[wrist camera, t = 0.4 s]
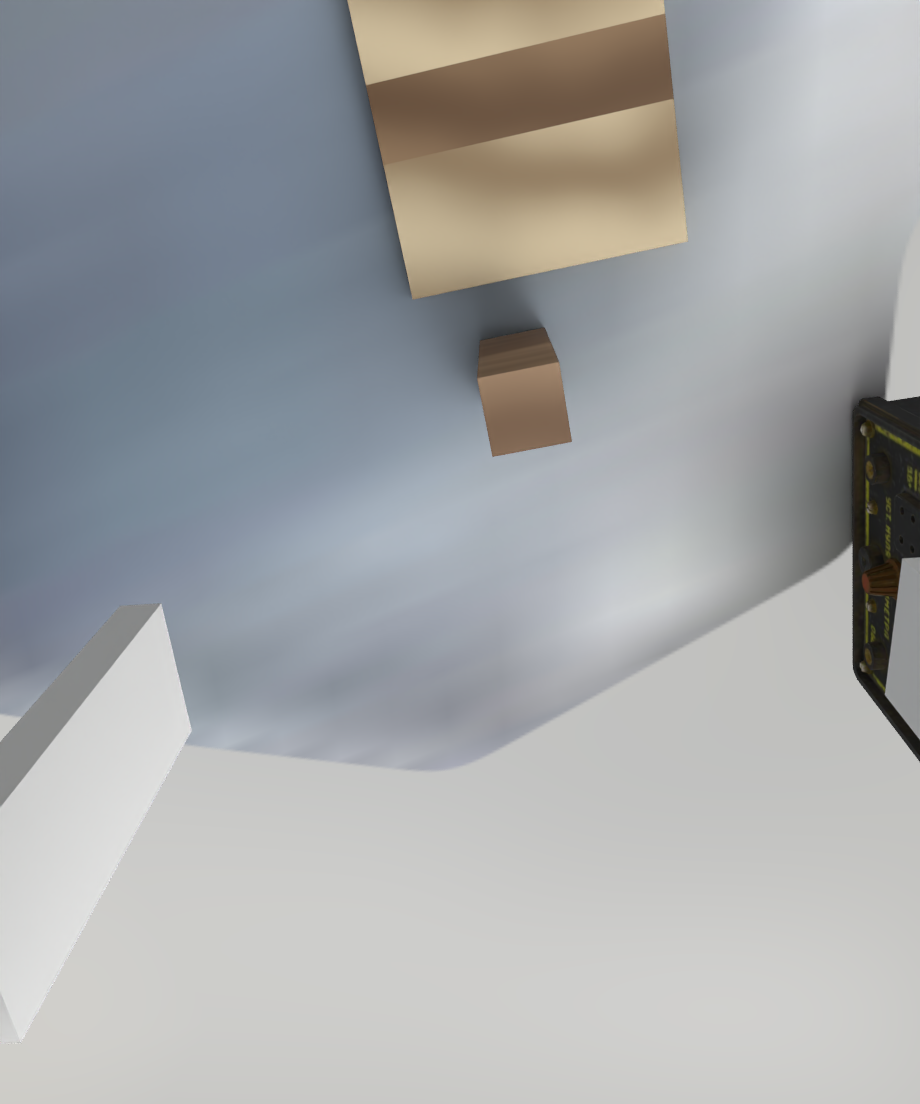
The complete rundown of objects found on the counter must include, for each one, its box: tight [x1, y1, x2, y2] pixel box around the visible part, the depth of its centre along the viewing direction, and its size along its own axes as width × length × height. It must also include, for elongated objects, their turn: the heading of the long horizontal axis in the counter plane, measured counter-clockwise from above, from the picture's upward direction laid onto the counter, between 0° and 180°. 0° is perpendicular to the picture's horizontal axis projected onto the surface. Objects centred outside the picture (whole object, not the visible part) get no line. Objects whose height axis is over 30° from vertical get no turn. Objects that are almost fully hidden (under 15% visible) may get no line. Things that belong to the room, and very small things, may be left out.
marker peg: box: [477, 328, 572, 457], centre depth 36 cm, size 3×3×9 cm
